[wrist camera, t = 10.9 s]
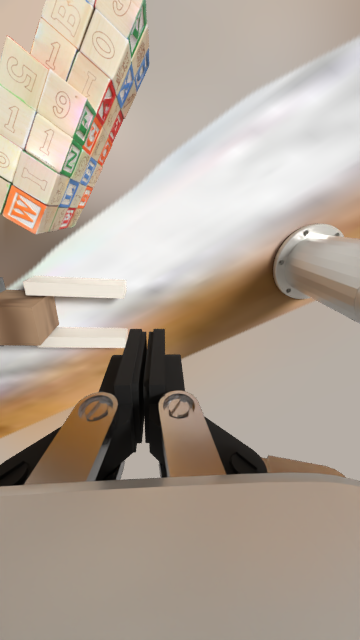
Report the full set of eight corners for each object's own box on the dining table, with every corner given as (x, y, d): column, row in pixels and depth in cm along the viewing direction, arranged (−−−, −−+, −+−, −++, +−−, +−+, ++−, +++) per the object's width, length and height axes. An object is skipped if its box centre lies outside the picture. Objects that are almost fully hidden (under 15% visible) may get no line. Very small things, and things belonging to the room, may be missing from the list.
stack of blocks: (100, 17, 24) (54, -153, 13) (150, 66, 26) (148, -45, 15) (30, 201, 30) (-40, 193, 19) (74, 228, 32) (34, 236, 21)
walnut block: (53, 291, 36) (31, 307, 30) (59, 324, 38) (40, 345, 32) (6, 289, 35) (-26, 305, 29) (15, 323, 38) (-13, 345, 31)
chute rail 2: (127, 328, 40) (125, 337, 37) (127, 337, 41) (125, 347, 38) (45, 326, 38) (35, 336, 35) (47, 336, 39) (38, 347, 36)
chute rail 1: (126, 279, 36) (123, 286, 33) (126, 291, 37) (124, 298, 34) (34, 275, 34) (22, 281, 31) (37, 287, 35) (25, 295, 32)
